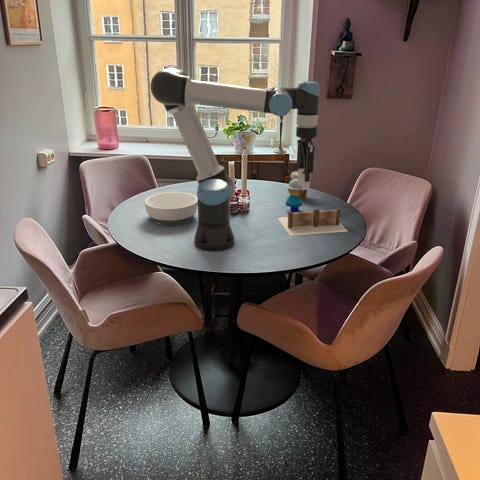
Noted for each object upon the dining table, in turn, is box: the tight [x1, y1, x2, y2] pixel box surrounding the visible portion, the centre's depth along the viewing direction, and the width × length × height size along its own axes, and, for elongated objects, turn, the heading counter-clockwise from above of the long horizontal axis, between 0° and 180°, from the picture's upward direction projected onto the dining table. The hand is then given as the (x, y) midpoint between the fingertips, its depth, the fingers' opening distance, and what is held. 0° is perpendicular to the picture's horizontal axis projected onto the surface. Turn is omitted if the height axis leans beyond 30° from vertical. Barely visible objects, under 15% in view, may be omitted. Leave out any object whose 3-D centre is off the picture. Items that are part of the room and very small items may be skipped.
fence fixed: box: [312, 207, 342, 227], centre depth 198 cm, size 12×2×7 cm, turn 101°
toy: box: [284, 179, 304, 213], centre depth 213 cm, size 8×9×15 cm
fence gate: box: [287, 210, 313, 228], centre depth 196 cm, size 10×2×6 cm, turn 101°
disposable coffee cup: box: [290, 170, 312, 200], centre depth 232 cm, size 10×10×12 cm
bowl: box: [143, 191, 198, 226], centre depth 206 cm, size 22×22×8 cm
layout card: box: [277, 216, 348, 237], centre depth 200 cm, size 24×20×1 cm
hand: (303, 187), depth 186 cm, fingers open, 5 cm apart
